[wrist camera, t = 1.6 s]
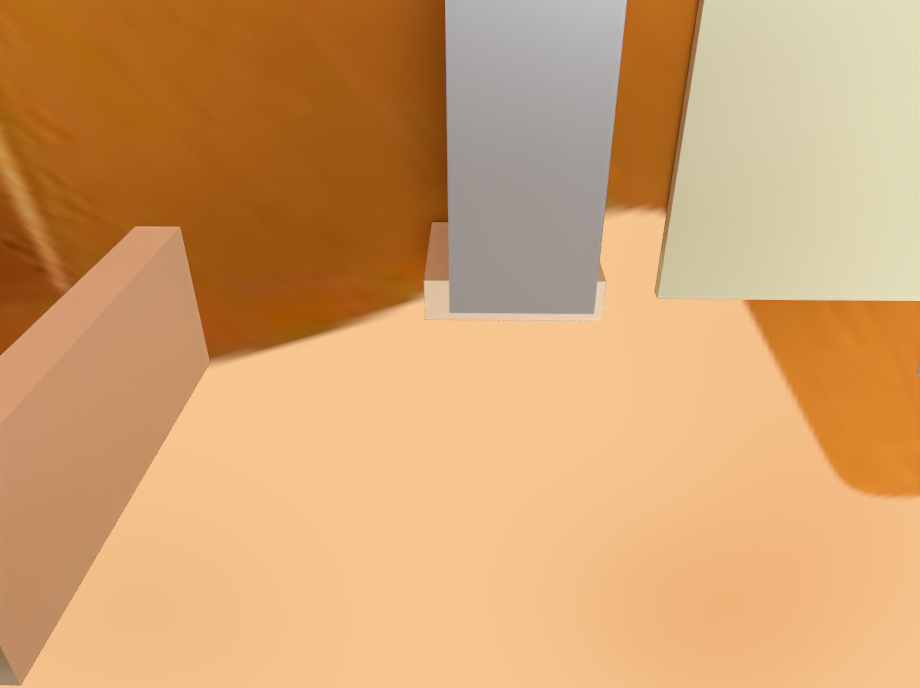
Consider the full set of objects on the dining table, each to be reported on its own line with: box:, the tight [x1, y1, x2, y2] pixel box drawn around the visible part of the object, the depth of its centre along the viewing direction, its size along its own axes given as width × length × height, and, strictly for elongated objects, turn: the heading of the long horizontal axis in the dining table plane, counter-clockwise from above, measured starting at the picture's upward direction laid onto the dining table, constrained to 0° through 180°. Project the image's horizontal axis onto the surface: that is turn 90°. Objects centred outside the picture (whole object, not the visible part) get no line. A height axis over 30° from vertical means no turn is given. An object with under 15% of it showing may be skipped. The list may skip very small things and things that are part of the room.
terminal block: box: [445, 0, 627, 314], centre depth 22 cm, size 4×8×9 cm, turn 0°
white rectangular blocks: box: [424, 222, 606, 321], centre depth 24 cm, size 6×13×5 cm, turn 0°
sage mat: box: [655, 0, 920, 301], centre depth 25 cm, size 12×16×1 cm
